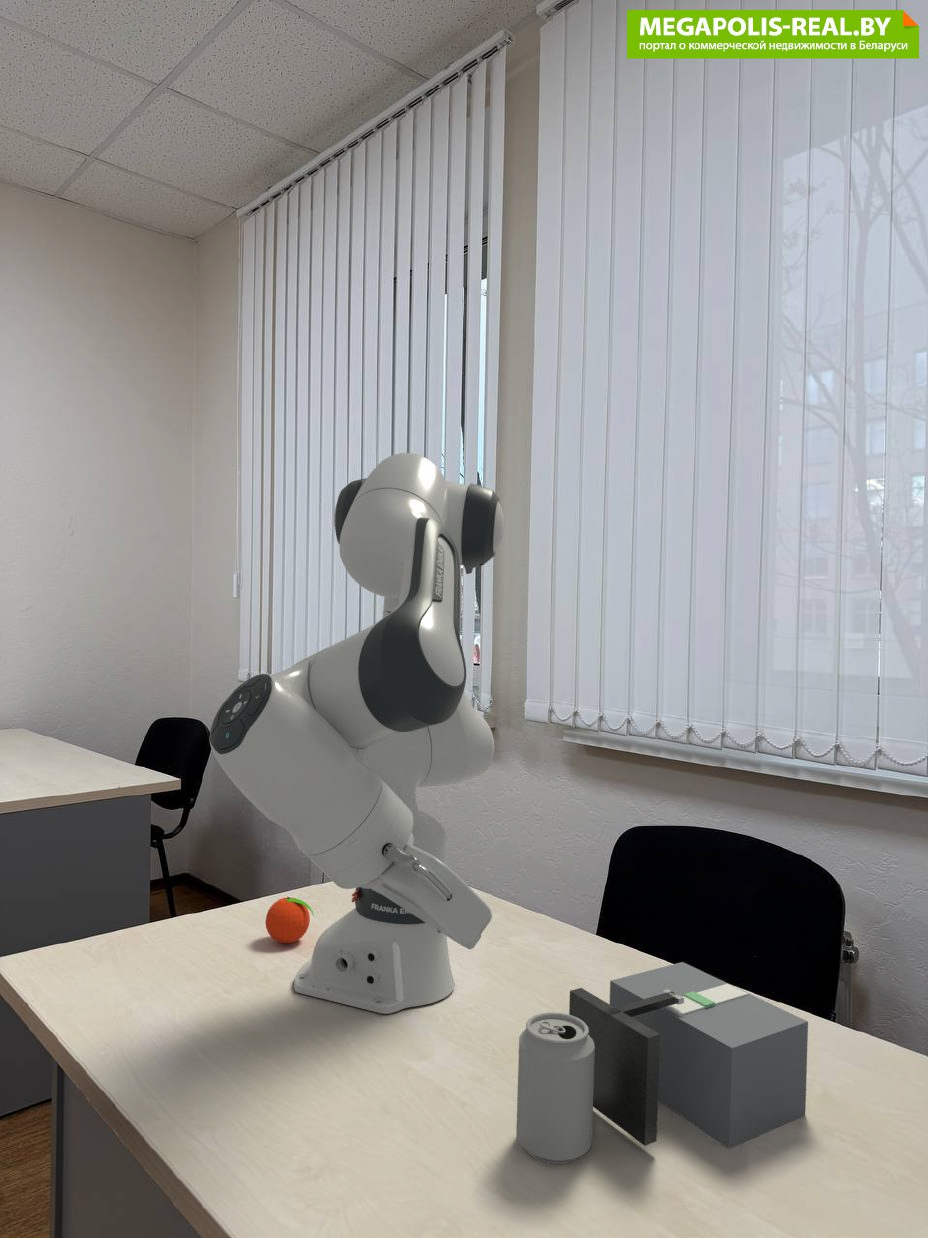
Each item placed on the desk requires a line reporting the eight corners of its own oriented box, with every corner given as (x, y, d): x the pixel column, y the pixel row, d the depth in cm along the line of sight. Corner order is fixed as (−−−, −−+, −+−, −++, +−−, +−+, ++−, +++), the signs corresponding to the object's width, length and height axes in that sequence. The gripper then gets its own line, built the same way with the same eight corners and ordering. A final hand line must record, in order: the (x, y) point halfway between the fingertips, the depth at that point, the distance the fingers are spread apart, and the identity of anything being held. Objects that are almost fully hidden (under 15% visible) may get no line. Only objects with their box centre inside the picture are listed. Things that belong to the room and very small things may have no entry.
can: (589, 1175, 80) (593, 1047, 80) (510, 1163, 81) (514, 1037, 81) (593, 1129, 87) (597, 1012, 87) (521, 1118, 88) (524, 1003, 89)
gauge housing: (729, 1148, 84) (732, 1044, 85) (607, 1065, 100) (610, 977, 100) (805, 1115, 91) (808, 1018, 91) (680, 1042, 106) (682, 958, 106)
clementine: (322, 937, 137) (323, 893, 137) (304, 953, 130) (306, 907, 130) (276, 932, 139) (278, 888, 139) (256, 947, 132) (258, 901, 132)
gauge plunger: (644, 1146, 82) (648, 1038, 83) (566, 1087, 93) (569, 990, 93) (715, 1117, 88) (718, 1015, 88) (634, 1064, 98) (637, 973, 98)
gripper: (447, 832, 65) (544, 938, 70) (338, 785, 82) (423, 873, 87) (393, 899, 63) (498, 1004, 68) (293, 836, 80) (383, 923, 85)
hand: (455, 929), depth 78 cm, fingers open, 5 cm apart
